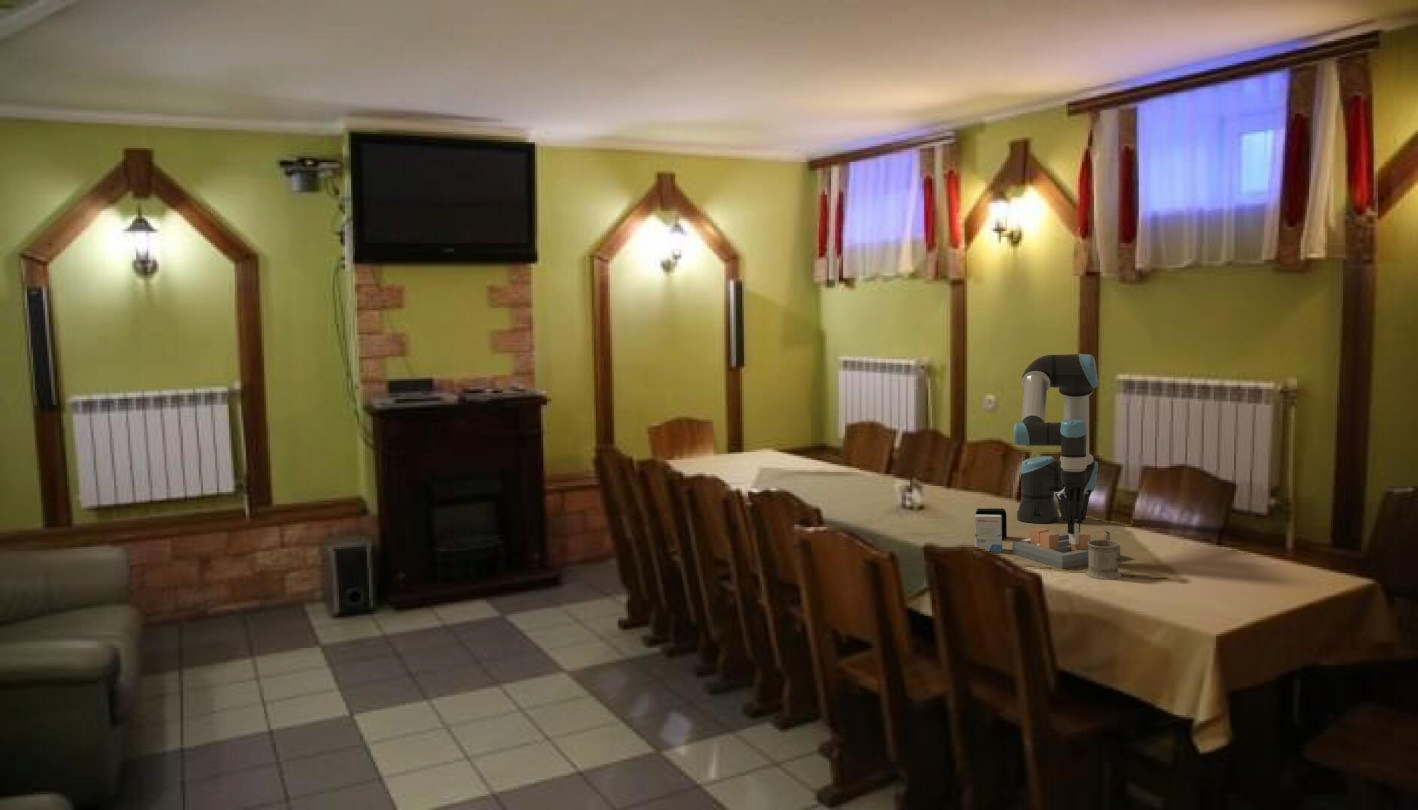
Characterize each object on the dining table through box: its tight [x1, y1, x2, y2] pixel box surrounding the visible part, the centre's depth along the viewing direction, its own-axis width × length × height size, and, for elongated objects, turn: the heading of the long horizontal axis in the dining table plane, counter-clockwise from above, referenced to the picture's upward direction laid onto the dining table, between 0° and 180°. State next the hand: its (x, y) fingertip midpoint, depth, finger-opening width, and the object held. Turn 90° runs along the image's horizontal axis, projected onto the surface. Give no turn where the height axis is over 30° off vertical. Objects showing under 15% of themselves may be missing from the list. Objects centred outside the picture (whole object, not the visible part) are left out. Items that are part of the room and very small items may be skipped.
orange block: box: [1071, 531, 1091, 552], centre depth 312 cm, size 4×4×6 cm
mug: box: [1085, 529, 1122, 581], centre depth 296 cm, size 14×10×12 cm
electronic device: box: [975, 507, 1008, 540], centre depth 345 cm, size 4×10×10 cm, turn 78°
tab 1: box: [1029, 527, 1050, 545], centre depth 320 cm, size 4×4×6 cm
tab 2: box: [1040, 531, 1060, 549], centre depth 314 cm, size 4×4×6 cm
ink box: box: [974, 513, 1003, 553], centre depth 328 cm, size 9×5×12 cm, turn 71°
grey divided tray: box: [1011, 531, 1121, 570], centre depth 317 cm, size 24×22×4 cm
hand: (1073, 543), depth 311 cm, fingers closed
